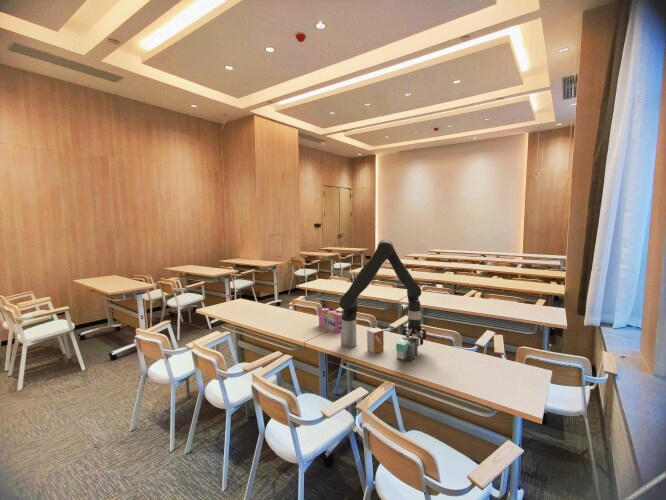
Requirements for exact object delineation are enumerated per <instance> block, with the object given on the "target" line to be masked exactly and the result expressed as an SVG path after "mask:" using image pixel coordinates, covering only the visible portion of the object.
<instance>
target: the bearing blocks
mask: <svg viewBox="0 0 666 500" xmlns="http://www.w3.org/2000/svg"><path fill="white" fill-rule="evenodd" d="M398 341H405V342H408V356H407V357H406V358H405V359H400V358H397V357H396V358H397V360H400V361H401V360H402V361H406V362H411V363H412V362H413V361H414V360H416V358H417V357H418V356H419V355H418V353H419V352H418V350H419V348H418V347H419V346H418V340H417V339H412V338H410V337H409V338H407V337H406V336H403V337H402V338H400V339H399V340H398Z"/></svg>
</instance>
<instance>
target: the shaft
mask: <svg viewBox="0 0 666 500" xmlns="http://www.w3.org/2000/svg"><path fill="white" fill-rule="evenodd" d="M409 338H412V339H417V340H418V347H419V346H420V337H419V336H418V337H417V336H412V335H411V336H409ZM407 356H408V350H407V351H406V352H402V351H397V350H396V358H400V359H399V360H401V359H405V358H406V357H407Z"/></svg>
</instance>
